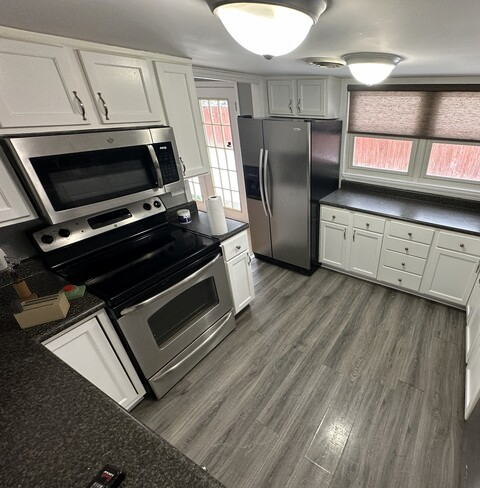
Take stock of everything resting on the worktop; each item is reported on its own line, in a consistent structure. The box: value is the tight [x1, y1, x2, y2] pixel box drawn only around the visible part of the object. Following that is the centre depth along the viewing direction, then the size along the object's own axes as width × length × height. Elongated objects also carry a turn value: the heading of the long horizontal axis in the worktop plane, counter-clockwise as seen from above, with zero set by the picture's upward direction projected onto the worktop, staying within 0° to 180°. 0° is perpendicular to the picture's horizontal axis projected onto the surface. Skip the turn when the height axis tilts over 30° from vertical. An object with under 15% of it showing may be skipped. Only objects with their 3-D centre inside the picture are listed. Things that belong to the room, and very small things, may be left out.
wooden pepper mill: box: [6, 270, 39, 303], centre depth 125 cm, size 7×6×18 cm
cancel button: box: [62, 284, 74, 292], centre depth 132 cm, size 4×4×2 cm
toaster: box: [13, 293, 71, 330], centre depth 118 cm, size 14×10×8 cm
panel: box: [57, 284, 87, 301], centre depth 133 cm, size 10×9×4 cm
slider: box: [9, 299, 24, 314], centre depth 109 cm, size 2×3×5 cm, turn 32°
